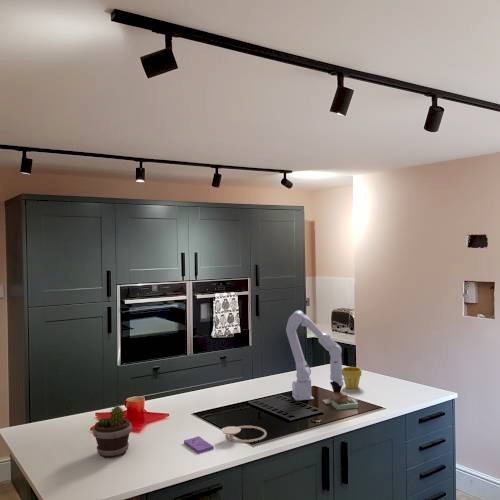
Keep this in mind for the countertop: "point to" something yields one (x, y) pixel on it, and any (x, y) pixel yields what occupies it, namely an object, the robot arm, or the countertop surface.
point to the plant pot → (351, 376)
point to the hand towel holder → (234, 430)
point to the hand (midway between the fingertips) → (336, 396)
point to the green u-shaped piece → (342, 406)
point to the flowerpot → (112, 434)
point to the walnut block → (340, 397)
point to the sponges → (198, 444)
